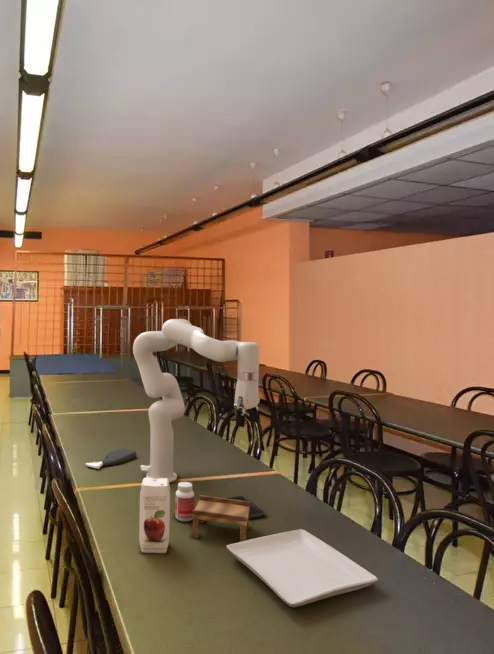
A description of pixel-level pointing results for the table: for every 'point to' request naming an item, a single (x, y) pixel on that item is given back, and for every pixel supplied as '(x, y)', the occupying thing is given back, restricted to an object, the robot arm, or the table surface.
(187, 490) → the pill bottle
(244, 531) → the stand
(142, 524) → the juice carton
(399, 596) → the table surface
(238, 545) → the square plate
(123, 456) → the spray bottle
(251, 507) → the phone
